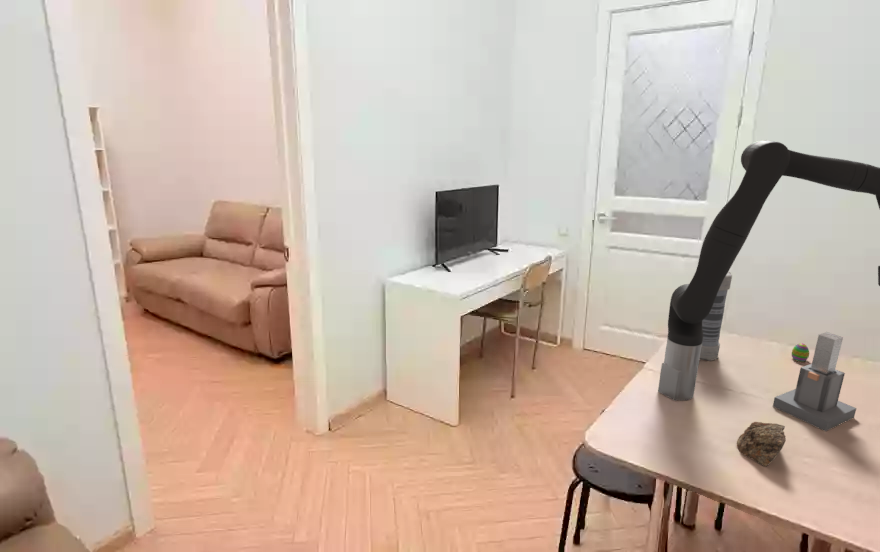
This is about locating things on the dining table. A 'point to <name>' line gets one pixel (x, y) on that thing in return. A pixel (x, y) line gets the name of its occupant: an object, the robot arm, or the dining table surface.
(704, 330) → the canister
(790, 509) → the dining table surface
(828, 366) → the column
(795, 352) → the egg
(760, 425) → the rock
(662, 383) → the robot arm
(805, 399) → the stand
